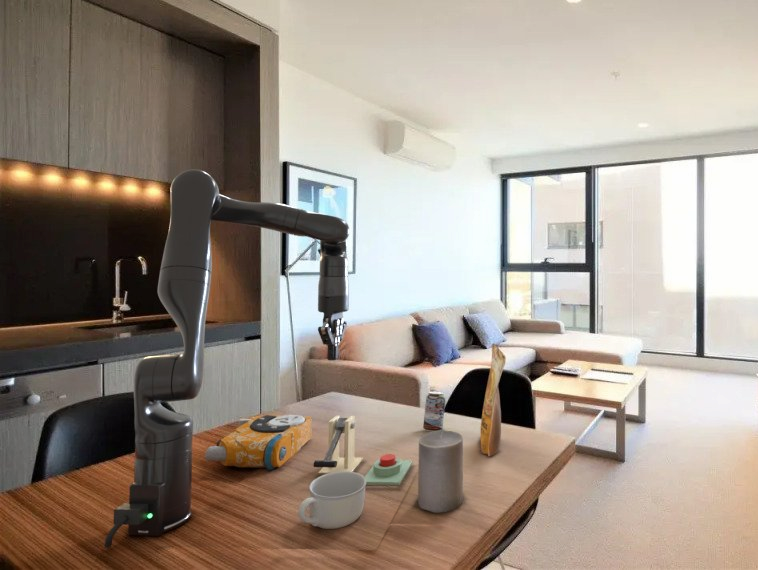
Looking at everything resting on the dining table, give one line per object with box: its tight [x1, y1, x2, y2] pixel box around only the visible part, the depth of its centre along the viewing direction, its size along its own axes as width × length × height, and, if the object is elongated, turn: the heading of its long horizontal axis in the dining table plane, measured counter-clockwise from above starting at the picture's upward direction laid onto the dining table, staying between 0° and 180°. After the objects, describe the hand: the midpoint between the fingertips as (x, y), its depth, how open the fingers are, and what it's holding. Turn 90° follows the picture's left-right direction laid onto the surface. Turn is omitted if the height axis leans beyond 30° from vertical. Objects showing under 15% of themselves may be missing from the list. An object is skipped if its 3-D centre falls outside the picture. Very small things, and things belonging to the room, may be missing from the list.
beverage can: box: [422, 390, 446, 432], centre depth 143 cm, size 6×7×12 cm
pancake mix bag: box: [479, 343, 507, 457], centre depth 131 cm, size 7×19×28 cm, turn 4°
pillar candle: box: [417, 430, 464, 514], centre depth 99 cm, size 10×10×15 cm
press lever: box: [313, 417, 348, 468], centre depth 111 cm, size 13×5×2 cm, turn 178°
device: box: [204, 414, 313, 471], centre depth 126 cm, size 23×8×30 cm
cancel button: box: [379, 453, 396, 467], centre depth 111 cm, size 4×4×2 cm
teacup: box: [297, 471, 367, 530], centre depth 90 cm, size 14×11×8 cm
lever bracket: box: [317, 415, 364, 474], centre depth 115 cm, size 9×8×13 cm
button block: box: [364, 457, 413, 486], centre depth 111 cm, size 12×9×4 cm
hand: (332, 359), depth 119 cm, fingers closed
